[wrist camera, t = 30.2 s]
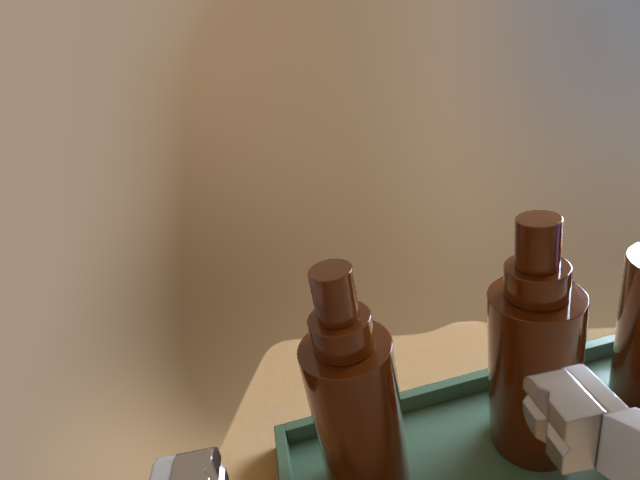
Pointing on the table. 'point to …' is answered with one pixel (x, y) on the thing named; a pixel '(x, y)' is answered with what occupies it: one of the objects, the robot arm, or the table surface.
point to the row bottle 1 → (531, 331)
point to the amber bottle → (351, 381)
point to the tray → (440, 432)
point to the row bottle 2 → (628, 334)
